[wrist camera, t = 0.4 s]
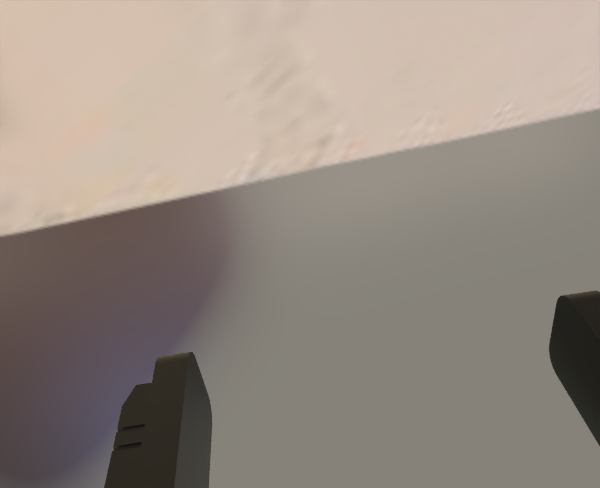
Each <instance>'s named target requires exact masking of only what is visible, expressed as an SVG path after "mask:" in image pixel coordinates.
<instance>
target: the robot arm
mask: <svg viewBox="0 0 600 488" xmlns="http://www.w3.org/2000/svg"><path fill="white" fill-rule="evenodd" d="M549 352H550V359H551V363H552V366H553V369H554V370H555V373H556V375H557V376H558V378H559V380H560V381H561V383H562V385H563V386H564V388H565V390H566V391H567V393H568V395H569V396H570V398H571V399H572V401H573V403H574V404H575V406H576V408H577V409H578V411H579V413H580V414H581V416H582V418H583V419H584V421H585V423H586V424H587V426H588V427H589V429H590V431H591V433H592V434H593V436H594V437H595V439H596V441H597V442H598V444H599V446H600V292H599V291H589V292H583V293H577V294H570V295H564V296H560V297H559V298H558V300H557V304H556V309H555V315H554V321H553V327H552V332H551V338H550V344H549ZM211 434H212V412H211V405H210V400H209V396H208V393H207V390H206V387H205V385H204V381H203V379H202V375H201V373H200V370H199V367H198V364H197V361H196V358H195V355H194V354H193V352H188V353H181V354H175V355H168V356H162V357H158V358H157V360H156V364H155V369H154V375H153V381H152V383H147V384H140V385H136V386H135V388H134V389H133V391H132V392H131V394H130V395H129V397H128V398H127V400H126V401H125V403H124V404H123V406H122V410H121V414H120V419H119V423H118V433H116V437H115V442H114V446H113V447H114V451H112V455H111V459H110V464H109V469H108V473H107V478H106V483H105V487H104V488H209V471H210V452H211Z"/></svg>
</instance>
